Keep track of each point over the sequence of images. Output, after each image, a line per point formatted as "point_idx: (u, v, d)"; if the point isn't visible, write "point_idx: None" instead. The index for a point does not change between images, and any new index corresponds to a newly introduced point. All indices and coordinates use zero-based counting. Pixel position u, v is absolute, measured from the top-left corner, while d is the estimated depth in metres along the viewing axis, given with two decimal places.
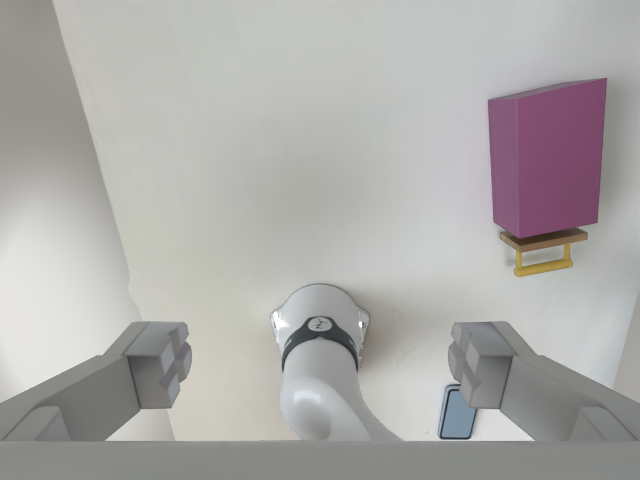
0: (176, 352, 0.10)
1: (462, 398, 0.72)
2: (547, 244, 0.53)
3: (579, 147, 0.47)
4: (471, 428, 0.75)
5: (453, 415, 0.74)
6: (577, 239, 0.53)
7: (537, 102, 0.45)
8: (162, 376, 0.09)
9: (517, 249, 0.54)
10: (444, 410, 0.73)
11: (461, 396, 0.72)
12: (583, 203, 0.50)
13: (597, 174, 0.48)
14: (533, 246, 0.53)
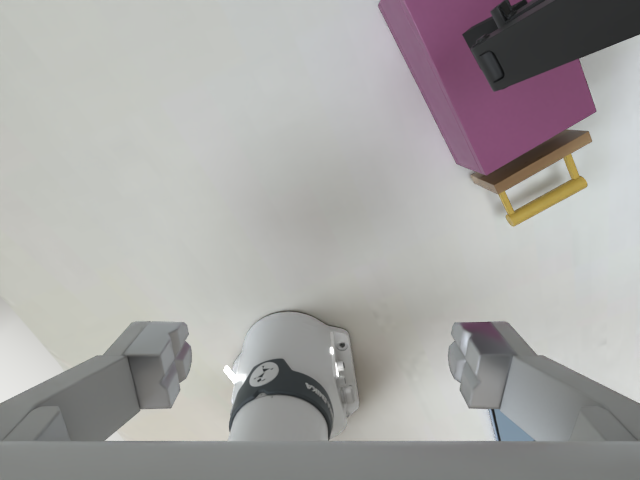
0: (176, 352, 0.10)
1: None
2: (534, 169, 0.36)
3: None
4: None
5: (506, 419, 0.56)
6: (576, 146, 0.35)
7: None
8: (162, 376, 0.09)
9: (494, 190, 0.38)
10: (492, 416, 0.56)
11: None
12: (562, 91, 0.32)
13: None
14: (514, 178, 0.36)
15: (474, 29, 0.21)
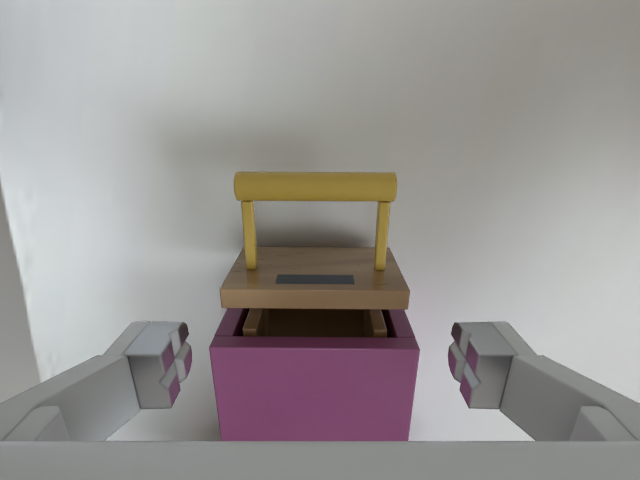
0: (176, 352, 0.10)
1: None
2: (331, 298, 0.19)
3: None
4: None
5: None
6: (247, 295, 0.19)
7: None
8: (162, 376, 0.09)
9: None
10: None
11: None
12: (253, 398, 0.20)
13: None
14: (370, 302, 0.19)
15: None
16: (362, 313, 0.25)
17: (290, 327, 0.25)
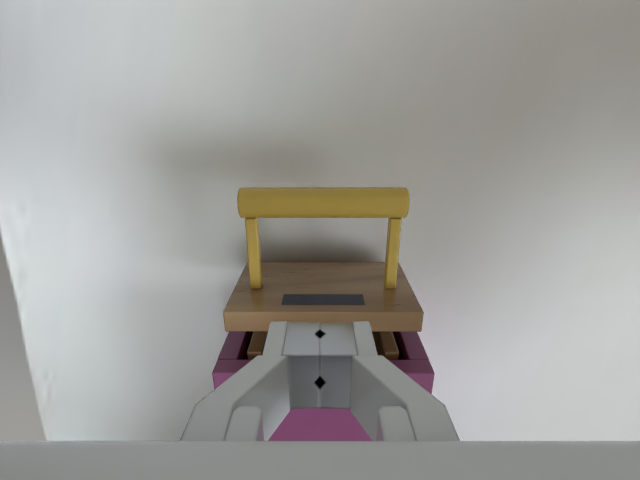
0: None
1: None
2: (340, 321, 0.18)
3: None
4: None
5: None
6: (252, 318, 0.18)
7: None
8: (316, 376, 0.09)
9: None
10: None
11: None
12: None
13: None
14: (381, 324, 0.18)
15: None
16: None
17: None
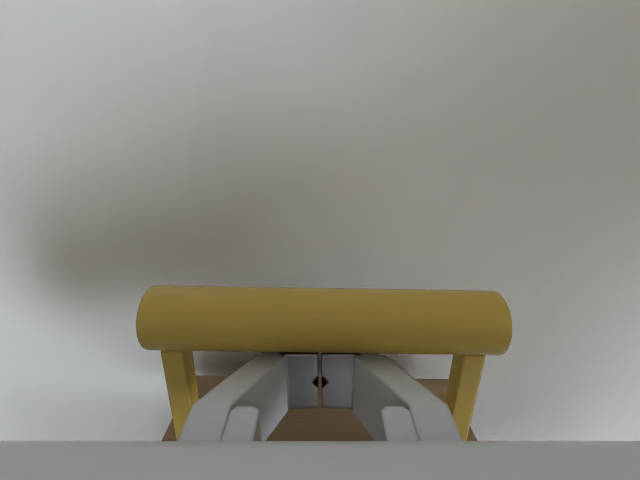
0: None
1: None
2: None
3: None
4: None
5: None
6: None
7: None
8: (314, 376, 0.09)
9: None
10: None
11: None
12: None
13: None
14: None
15: None
16: None
17: None
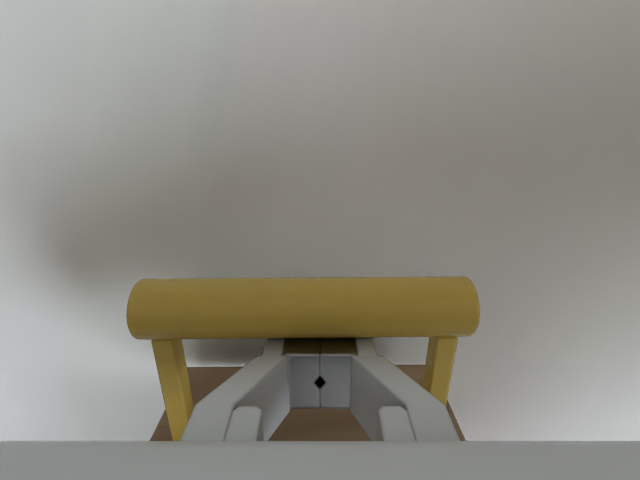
0: None
1: None
2: None
3: None
4: None
5: None
6: None
7: None
8: (316, 376, 0.09)
9: None
10: None
11: None
12: None
13: None
14: None
15: None
16: None
17: None
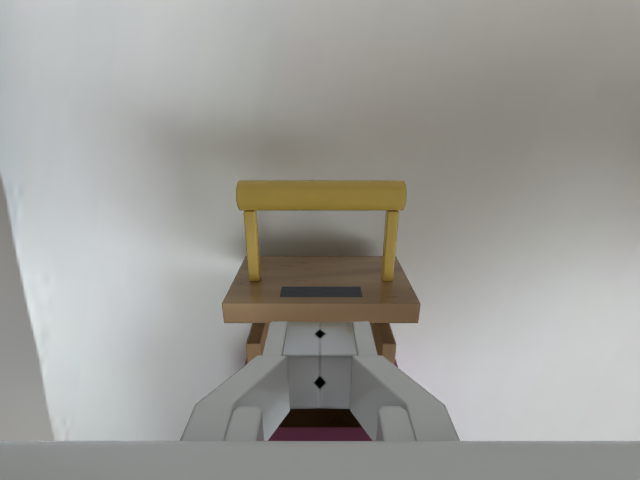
0: None
1: None
2: (338, 312, 0.18)
3: None
4: None
5: None
6: (251, 309, 0.18)
7: None
8: (316, 376, 0.09)
9: None
10: None
11: None
12: None
13: None
14: (378, 316, 0.18)
15: None
16: None
17: None
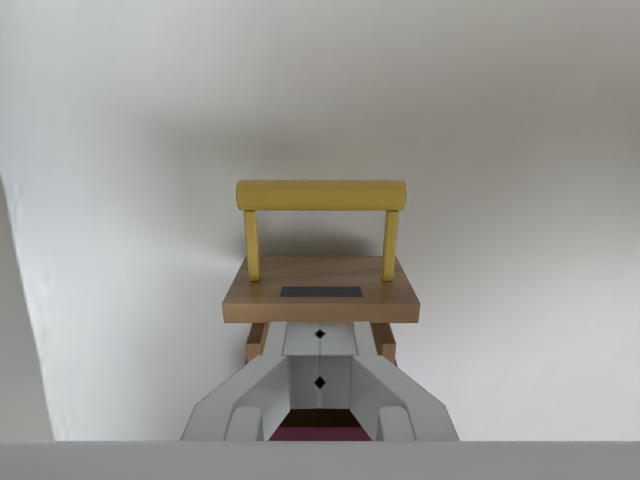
0: None
1: None
2: (338, 312, 0.18)
3: None
4: None
5: None
6: (251, 309, 0.18)
7: None
8: (316, 376, 0.09)
9: None
10: None
11: None
12: None
13: None
14: (378, 316, 0.18)
15: None
16: None
17: None
